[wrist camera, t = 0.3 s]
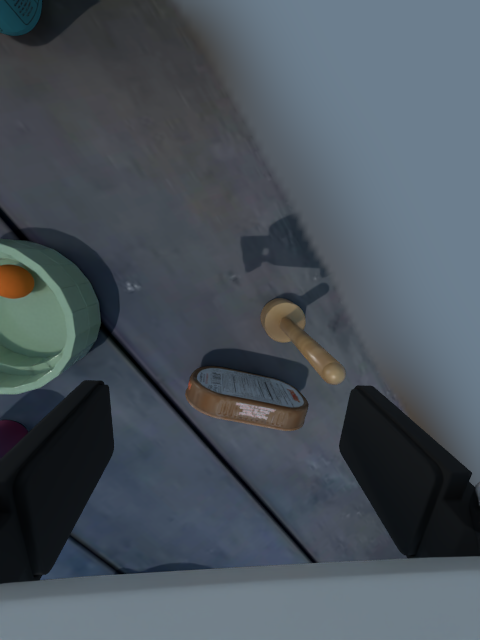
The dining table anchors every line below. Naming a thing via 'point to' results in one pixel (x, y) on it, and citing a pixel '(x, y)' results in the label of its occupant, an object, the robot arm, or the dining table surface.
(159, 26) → the dining table surface
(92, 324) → the bowl
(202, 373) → the tin
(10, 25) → the beverage bottle
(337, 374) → the wooden pestle
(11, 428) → the cup
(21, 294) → the ball
